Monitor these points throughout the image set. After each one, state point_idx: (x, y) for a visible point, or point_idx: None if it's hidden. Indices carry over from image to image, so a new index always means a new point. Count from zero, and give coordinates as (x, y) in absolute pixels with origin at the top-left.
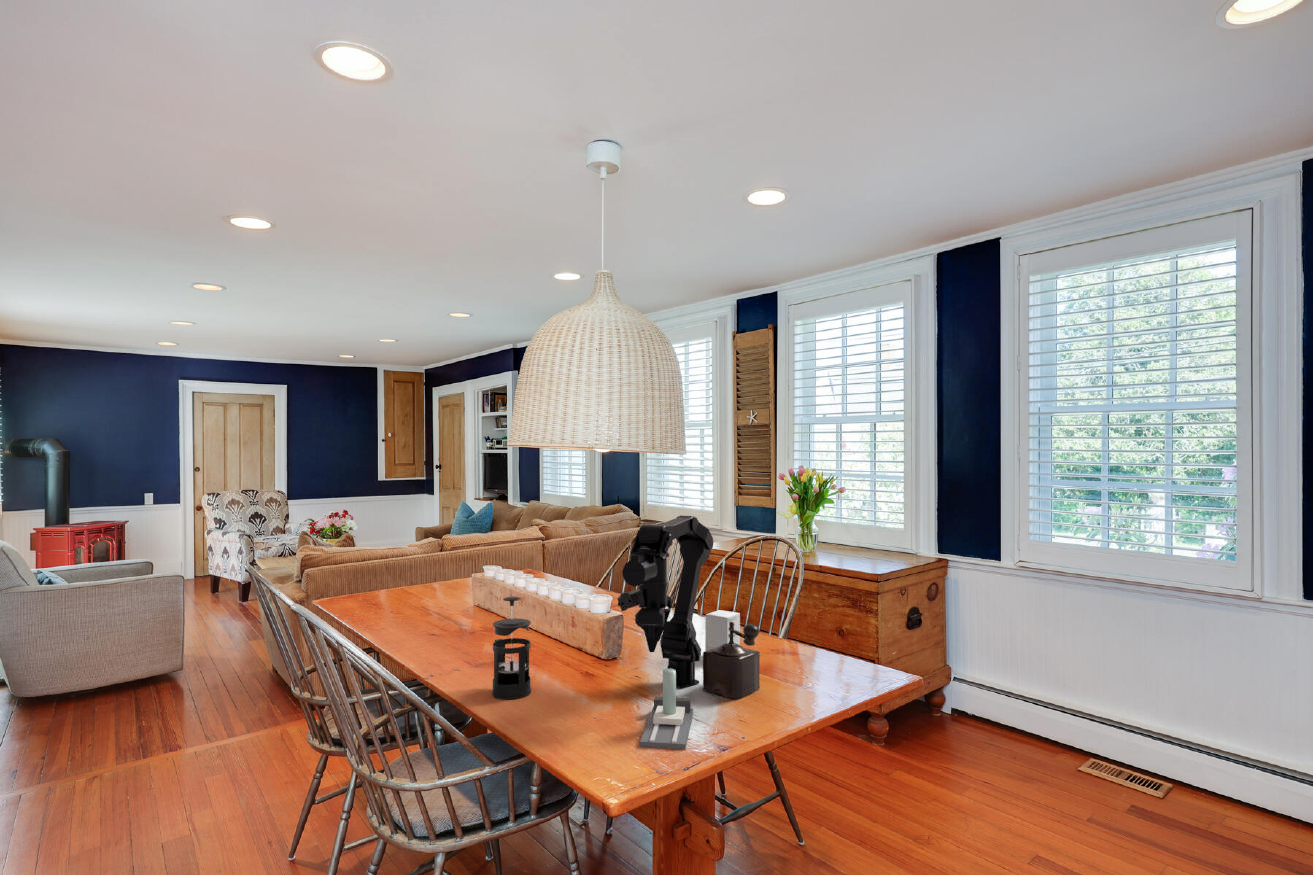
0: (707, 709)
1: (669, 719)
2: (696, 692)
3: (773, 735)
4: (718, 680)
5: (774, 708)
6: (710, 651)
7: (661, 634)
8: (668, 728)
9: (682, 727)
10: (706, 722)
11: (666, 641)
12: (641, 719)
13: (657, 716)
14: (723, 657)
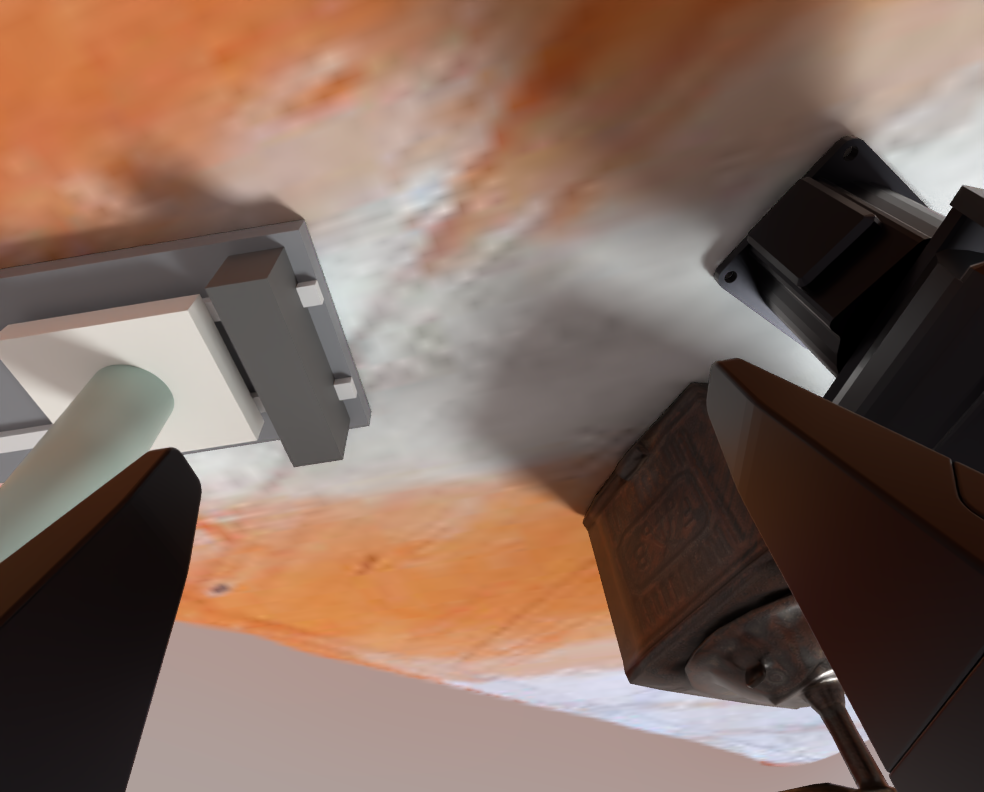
0: (438, 450)
1: (51, 415)
2: (660, 360)
3: (289, 638)
4: (653, 502)
5: (522, 610)
6: None
7: (745, 497)
8: None
9: None
10: (288, 476)
11: (969, 348)
12: (136, 189)
13: (26, 357)
14: (680, 637)
